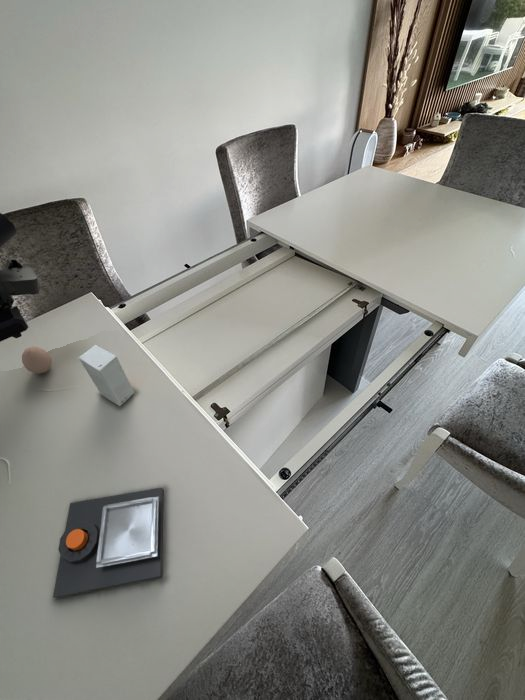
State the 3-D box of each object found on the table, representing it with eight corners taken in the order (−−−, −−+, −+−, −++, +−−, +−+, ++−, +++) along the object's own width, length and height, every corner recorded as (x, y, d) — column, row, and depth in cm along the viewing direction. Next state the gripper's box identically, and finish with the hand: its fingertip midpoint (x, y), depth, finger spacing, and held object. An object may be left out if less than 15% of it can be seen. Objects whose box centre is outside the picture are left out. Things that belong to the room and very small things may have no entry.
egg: (61, 366, 78) (47, 346, 73) (41, 382, 75) (24, 362, 70) (47, 357, 80) (32, 337, 74) (26, 372, 77) (9, 352, 72)
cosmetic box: (135, 392, 73) (117, 356, 64) (120, 407, 71) (99, 371, 62) (115, 380, 75) (95, 343, 66) (100, 394, 73) (76, 358, 64)
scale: (57, 598, 50) (47, 596, 48) (73, 505, 58) (65, 499, 56) (162, 577, 52) (157, 574, 49) (163, 490, 60) (159, 483, 58)
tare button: (68, 552, 52) (63, 549, 50) (71, 533, 53) (67, 530, 52) (86, 548, 52) (82, 546, 51) (89, 530, 54) (85, 527, 52)
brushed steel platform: (96, 568, 50) (93, 567, 49) (104, 506, 55) (101, 504, 55) (157, 556, 51) (155, 555, 50) (159, 497, 56) (157, 494, 55)
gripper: (35, 278, 56) (75, 343, 67) (5, 230, 65) (45, 294, 77) (-44, 309, 51) (14, 372, 63) (-64, 252, 60) (-10, 317, 72)
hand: (18, 335), depth 69 cm, fingers closed
